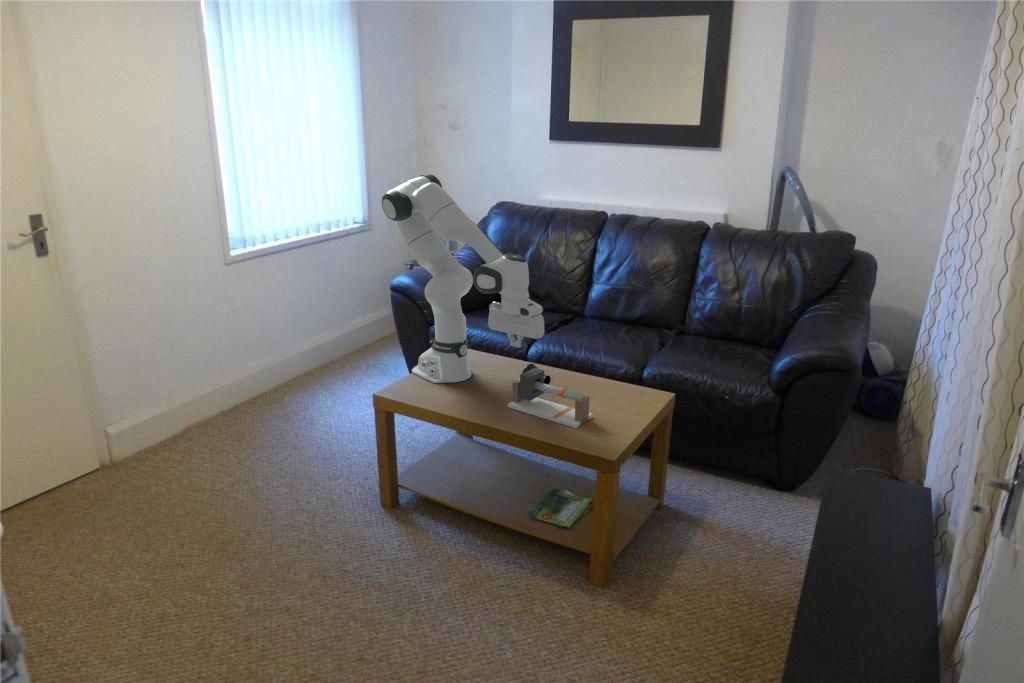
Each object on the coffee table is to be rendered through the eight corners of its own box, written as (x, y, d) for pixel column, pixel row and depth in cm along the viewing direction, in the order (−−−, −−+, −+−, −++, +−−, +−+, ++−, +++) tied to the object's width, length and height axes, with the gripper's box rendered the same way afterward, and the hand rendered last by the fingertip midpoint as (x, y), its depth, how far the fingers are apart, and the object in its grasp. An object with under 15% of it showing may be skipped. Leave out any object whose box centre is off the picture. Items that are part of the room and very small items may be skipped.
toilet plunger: (533, 377, 254) (552, 386, 249) (500, 398, 242) (519, 408, 237) (534, 359, 250) (553, 368, 245) (501, 379, 238) (520, 389, 234)
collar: (519, 397, 227) (519, 374, 225) (533, 390, 233) (534, 367, 231) (529, 400, 225) (530, 377, 222) (543, 393, 231) (544, 370, 228)
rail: (507, 407, 230) (508, 380, 227) (525, 397, 238) (525, 371, 234) (575, 428, 215) (577, 399, 212) (592, 417, 223) (593, 389, 220)
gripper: (483, 302, 227) (484, 343, 231) (535, 312, 215) (535, 355, 220) (495, 298, 232) (496, 338, 236) (547, 307, 220) (547, 349, 225)
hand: (515, 346), depth 228 cm, fingers closed
